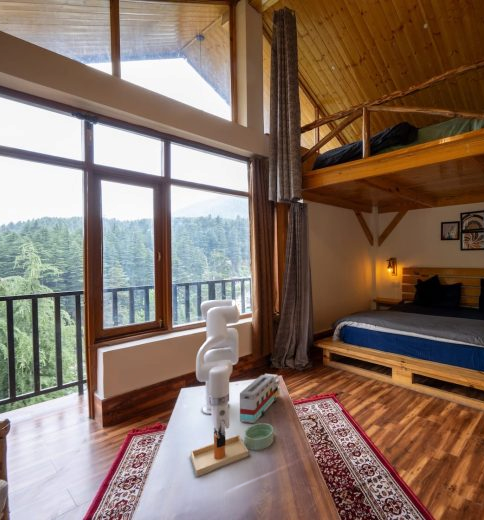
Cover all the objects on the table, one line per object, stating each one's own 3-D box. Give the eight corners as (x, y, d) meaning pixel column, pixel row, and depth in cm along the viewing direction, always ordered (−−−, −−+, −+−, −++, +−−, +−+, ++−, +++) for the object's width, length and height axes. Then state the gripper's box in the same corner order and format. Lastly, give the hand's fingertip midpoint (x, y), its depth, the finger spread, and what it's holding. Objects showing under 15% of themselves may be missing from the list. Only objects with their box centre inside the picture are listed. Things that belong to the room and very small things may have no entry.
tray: (190, 457, 121) (190, 451, 121) (238, 440, 132) (238, 434, 132) (196, 477, 110) (196, 470, 110) (248, 456, 121) (248, 450, 121)
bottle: (213, 454, 121) (212, 428, 121) (223, 450, 124) (223, 425, 124) (215, 460, 118) (215, 434, 118) (226, 456, 120) (226, 430, 120)
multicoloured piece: (280, 396, 173) (280, 370, 173) (254, 425, 143) (254, 394, 143) (267, 395, 174) (267, 369, 174) (239, 423, 145) (239, 393, 144)
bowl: (241, 440, 132) (241, 429, 132) (267, 431, 139) (267, 420, 139) (250, 455, 122) (250, 443, 122) (277, 444, 129) (277, 433, 129)
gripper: (234, 404, 116) (234, 450, 116) (223, 388, 129) (224, 430, 130) (214, 409, 111) (214, 458, 112) (205, 392, 125) (205, 436, 125)
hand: (219, 442), depth 121 cm, fingers closed on bottle, 4 cm apart
